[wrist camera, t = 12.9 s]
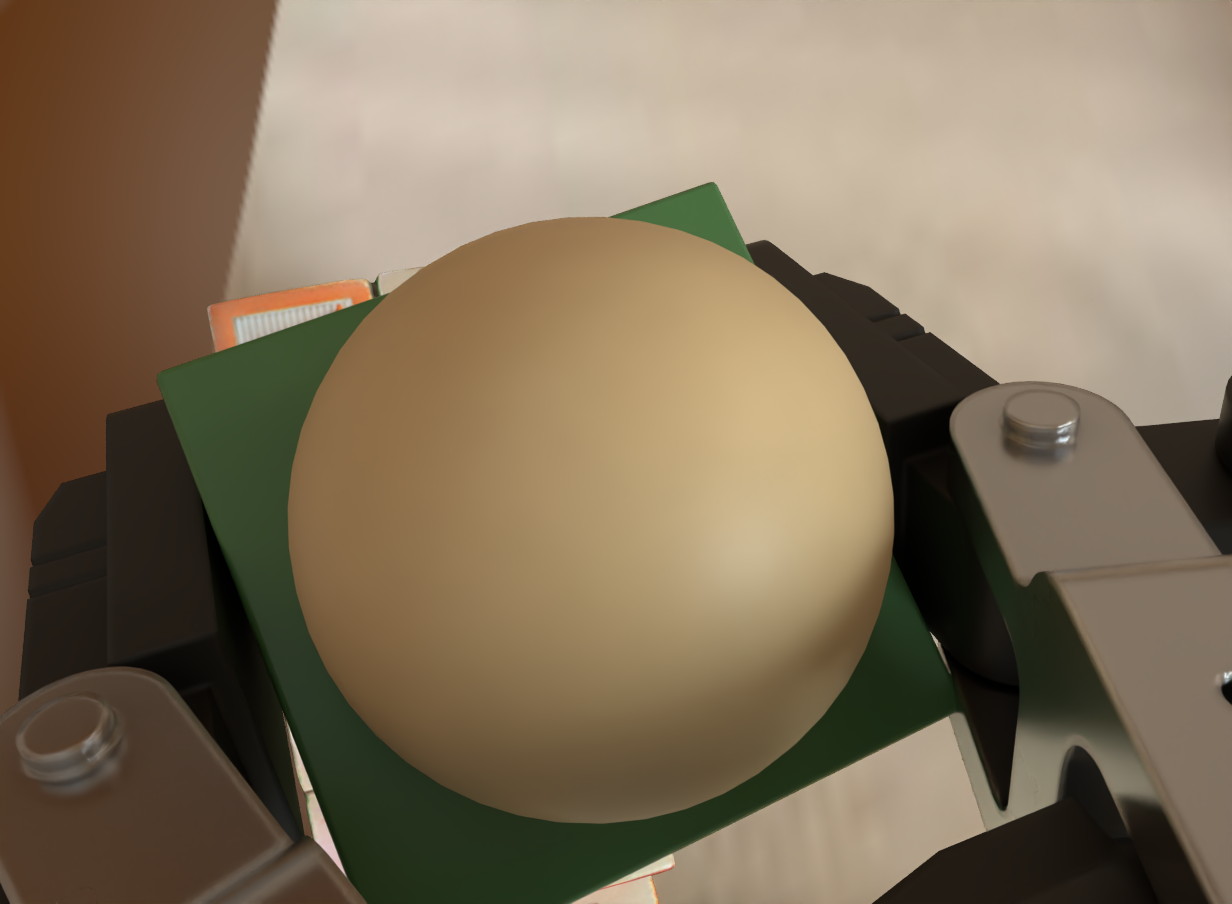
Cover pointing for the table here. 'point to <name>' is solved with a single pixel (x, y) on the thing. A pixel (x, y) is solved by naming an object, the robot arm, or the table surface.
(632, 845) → the green block
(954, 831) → the table surface
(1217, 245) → the table surface
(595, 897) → the stack of blocks
